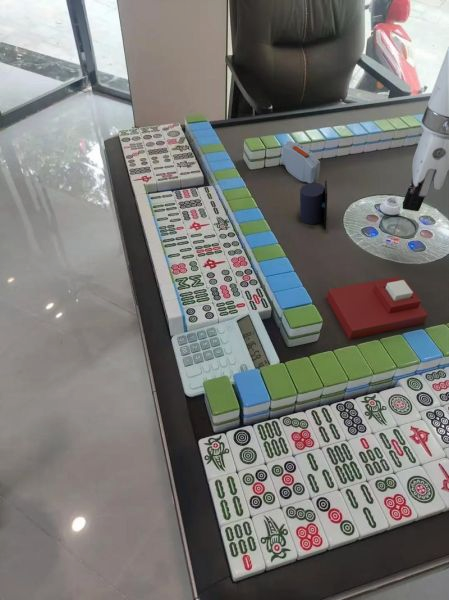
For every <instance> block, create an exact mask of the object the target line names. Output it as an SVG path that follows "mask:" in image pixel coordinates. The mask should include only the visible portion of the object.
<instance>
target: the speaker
mask: <svg viewBox="0 0 449 600" xmlns="http://www.w3.org/2000/svg"><path fill="white" fill-rule="evenodd" d="M299 199H300V200H299V201H300V203H299V205H300V220H301V221H302V222H303V223H304V224H310V225H315V224H319V223H320V222H322V221H323V229H324V230H327V217H328V216H327V215H328V214H327V213H328V181H327V180H324V185H323V184H321V183H318V182H313V183H308V182H307V183H306V184H304V185H302V186H301V188H300V189H299Z"/></svg>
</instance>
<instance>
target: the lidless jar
mask: <svg viewBox="0 0 449 600" xmlns="http://www.w3.org/2000/svg"><path fill="white" fill-rule="evenodd" d="M379 210H380V211H381V212H382V213H383V214H385V215H389V216H396V215H398V214H400V212H401V205H400V201H399V199H398V198H397V197H393V196H390V197H387V198H386V199H385V200H384V201H382V202H381V203H380V205H379Z"/></svg>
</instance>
